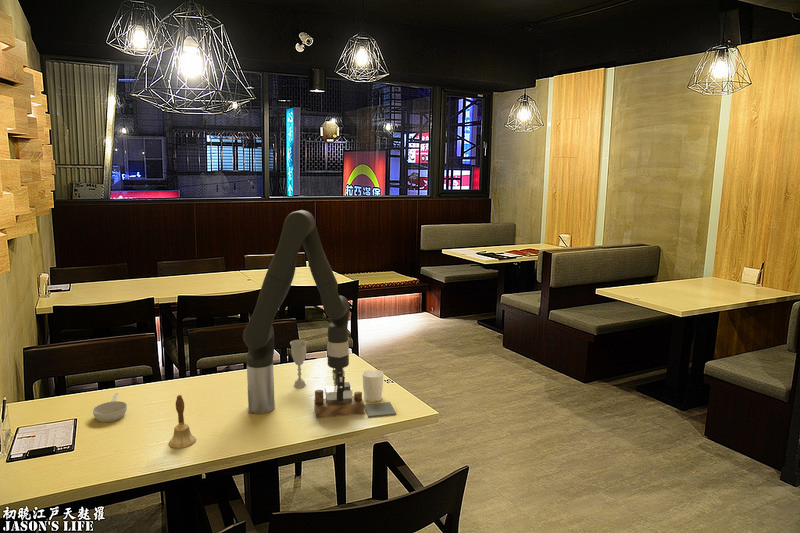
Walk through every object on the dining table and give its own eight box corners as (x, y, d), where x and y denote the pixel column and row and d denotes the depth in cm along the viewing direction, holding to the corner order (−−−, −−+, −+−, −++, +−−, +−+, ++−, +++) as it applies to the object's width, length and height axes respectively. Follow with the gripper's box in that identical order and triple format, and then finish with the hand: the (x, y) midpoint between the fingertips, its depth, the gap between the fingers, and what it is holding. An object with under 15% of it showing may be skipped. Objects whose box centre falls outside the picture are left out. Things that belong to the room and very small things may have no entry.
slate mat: (368, 417, 205) (368, 415, 205) (363, 405, 214) (363, 404, 214) (396, 414, 207) (396, 413, 207) (390, 403, 217) (390, 401, 217)
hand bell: (200, 442, 187) (197, 395, 184) (175, 451, 181) (171, 403, 178) (189, 433, 193) (186, 388, 190) (164, 441, 187) (160, 395, 184)
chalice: (290, 383, 236) (288, 340, 232) (307, 381, 238) (305, 339, 234) (292, 389, 229) (291, 346, 226) (309, 387, 231) (308, 344, 228)
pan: (90, 425, 198) (89, 414, 198) (101, 404, 215) (100, 394, 215) (124, 421, 201) (123, 411, 201) (132, 400, 218) (132, 391, 218)
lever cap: (327, 400, 205) (326, 389, 204) (325, 394, 210) (325, 383, 209) (352, 398, 207) (352, 386, 206) (350, 392, 212) (349, 381, 211)
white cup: (382, 402, 217) (382, 377, 216) (361, 402, 218) (361, 377, 216) (383, 394, 225) (383, 369, 223) (363, 393, 225) (363, 369, 224)
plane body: (316, 418, 204) (315, 395, 202) (314, 410, 211) (313, 387, 209) (364, 413, 208) (363, 391, 206) (360, 405, 215) (360, 383, 213)
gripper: (325, 346, 211) (326, 390, 214) (329, 360, 197) (330, 406, 201) (345, 345, 213) (346, 389, 216) (351, 358, 199) (352, 404, 202)
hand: (338, 397), depth 208 cm, fingers closed on lever cap, 5 cm apart
